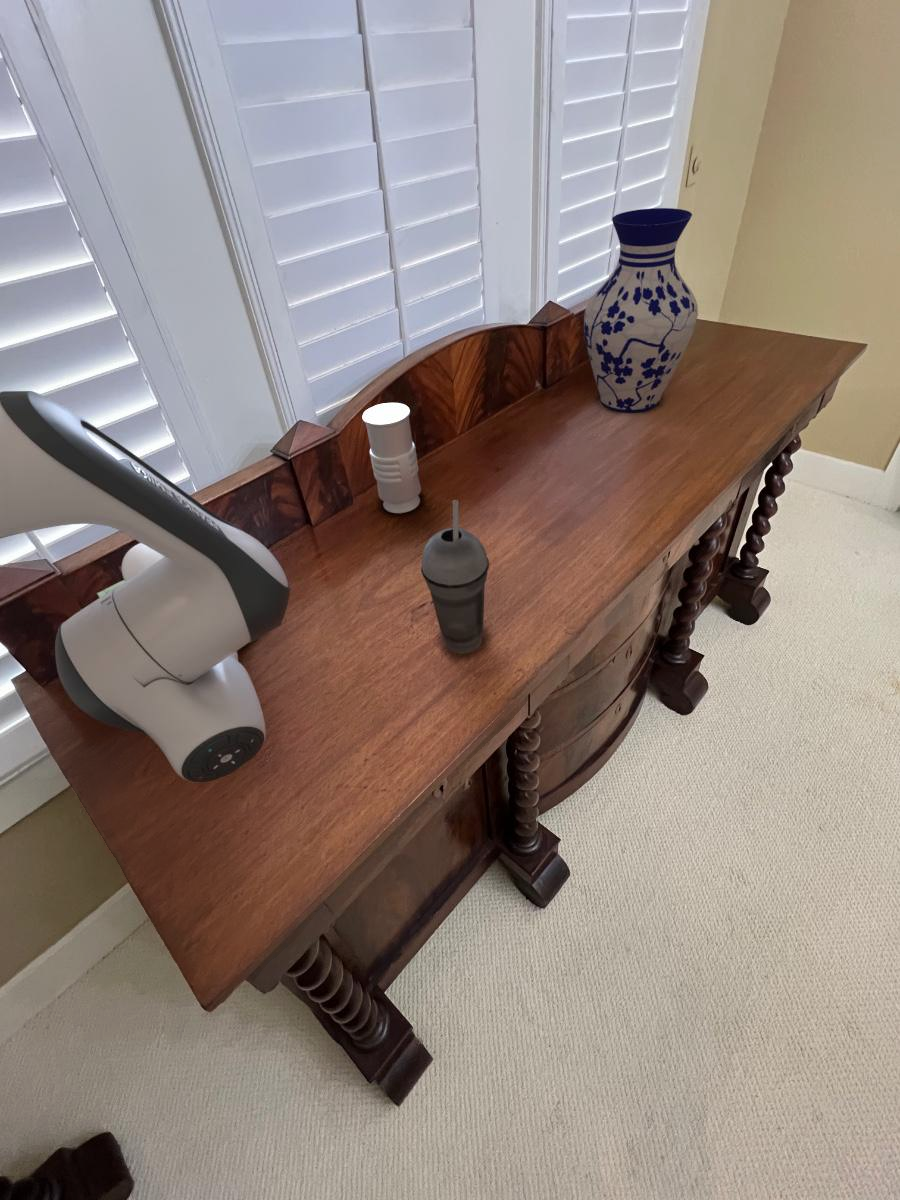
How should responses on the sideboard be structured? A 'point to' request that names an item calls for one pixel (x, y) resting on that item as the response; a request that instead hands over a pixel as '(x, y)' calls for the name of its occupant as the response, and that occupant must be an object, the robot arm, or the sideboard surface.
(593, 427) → the sideboard surface
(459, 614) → the beverage cup
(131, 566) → the lightbulb
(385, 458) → the white ribbed cylinder
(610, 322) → the vase
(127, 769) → the sideboard surface
